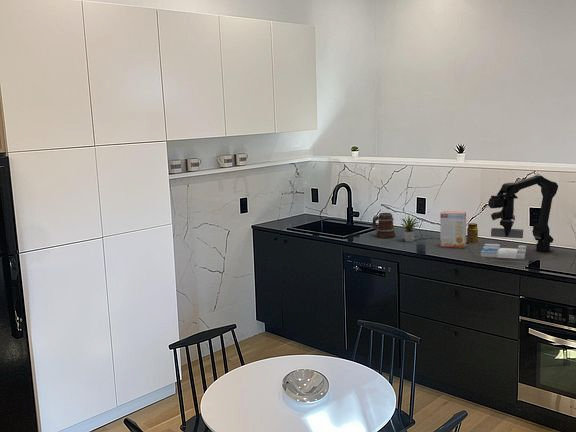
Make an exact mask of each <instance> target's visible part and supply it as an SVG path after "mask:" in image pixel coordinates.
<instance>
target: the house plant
mask: <svg viewBox="0 0 576 432" xmlns="http://www.w3.org/2000/svg"><path fill="white" fill-rule="evenodd" d="M414 217H415V215H413V216H412V217H410V215H409V214H408V215H407V218H406V217H405V218H401V221H402V223H400V226H401V225H402V227H401V228H404V230H403V237H404V241H405V242H408V243H409V242H414V239H415V232H416V230H414V229H415V228H416V227H420V224H419V223H420V221H419V220H420V219H419V217H415V218H414Z"/></svg>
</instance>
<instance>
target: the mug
mask: <svg viewBox="0 0 576 432" xmlns="http://www.w3.org/2000/svg"><path fill="white" fill-rule="evenodd" d="M377 221H378V223H377V224H378V225H377V224H376V222H377ZM394 221H395V219H394V218H393V213H392V212H381V213H379V214H378V215H375V216H373V218H372V224H371V226H372V228H373V229H374V230H376V238H379V239H392V238H396V233H395V230H396V229H395V227H394Z"/></svg>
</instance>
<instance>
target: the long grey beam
mask: <svg viewBox="0 0 576 432" xmlns="http://www.w3.org/2000/svg"><path fill="white" fill-rule="evenodd" d="M490 237H492V238H493V237H494V238H510V239H511V238H512V239H523V238H524V229H519V228H518V229H517V228H511V230H510V233H509V235H508V237H507V236H505V231H504V227H503V228H501V227H500V228H499V227H491V229H490Z"/></svg>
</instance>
